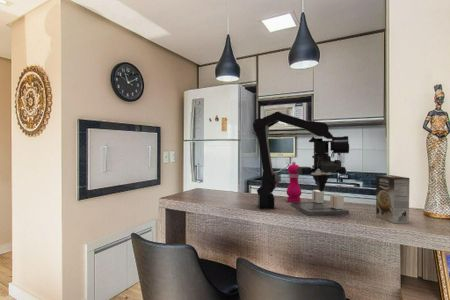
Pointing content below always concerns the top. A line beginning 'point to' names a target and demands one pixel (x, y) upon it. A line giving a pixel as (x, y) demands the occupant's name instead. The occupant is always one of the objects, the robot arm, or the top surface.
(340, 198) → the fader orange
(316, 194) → the fader plain
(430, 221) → the top surface
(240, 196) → the top surface
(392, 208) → the coffee box
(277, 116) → the robot arm
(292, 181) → the pepper mill
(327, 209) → the mixer panel
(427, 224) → the top surface
